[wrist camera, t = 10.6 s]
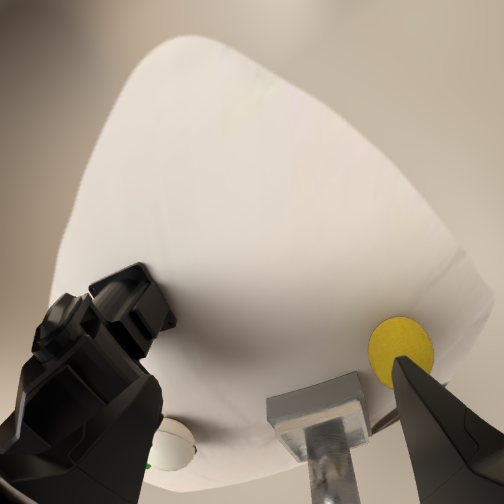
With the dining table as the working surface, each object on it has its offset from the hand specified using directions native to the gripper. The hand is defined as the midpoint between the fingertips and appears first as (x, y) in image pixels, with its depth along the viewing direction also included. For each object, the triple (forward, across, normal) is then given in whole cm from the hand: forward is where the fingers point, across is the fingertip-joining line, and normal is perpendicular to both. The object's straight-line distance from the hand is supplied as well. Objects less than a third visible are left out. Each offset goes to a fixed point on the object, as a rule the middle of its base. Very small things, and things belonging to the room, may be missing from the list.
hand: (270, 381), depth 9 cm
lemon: (+14, -9, +10) cm, 19 cm away
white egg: (+12, +15, +22) cm, 29 cm away
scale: (+13, -3, +22) cm, 26 cm away
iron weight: (+9, -3, +21) cm, 23 cm away
